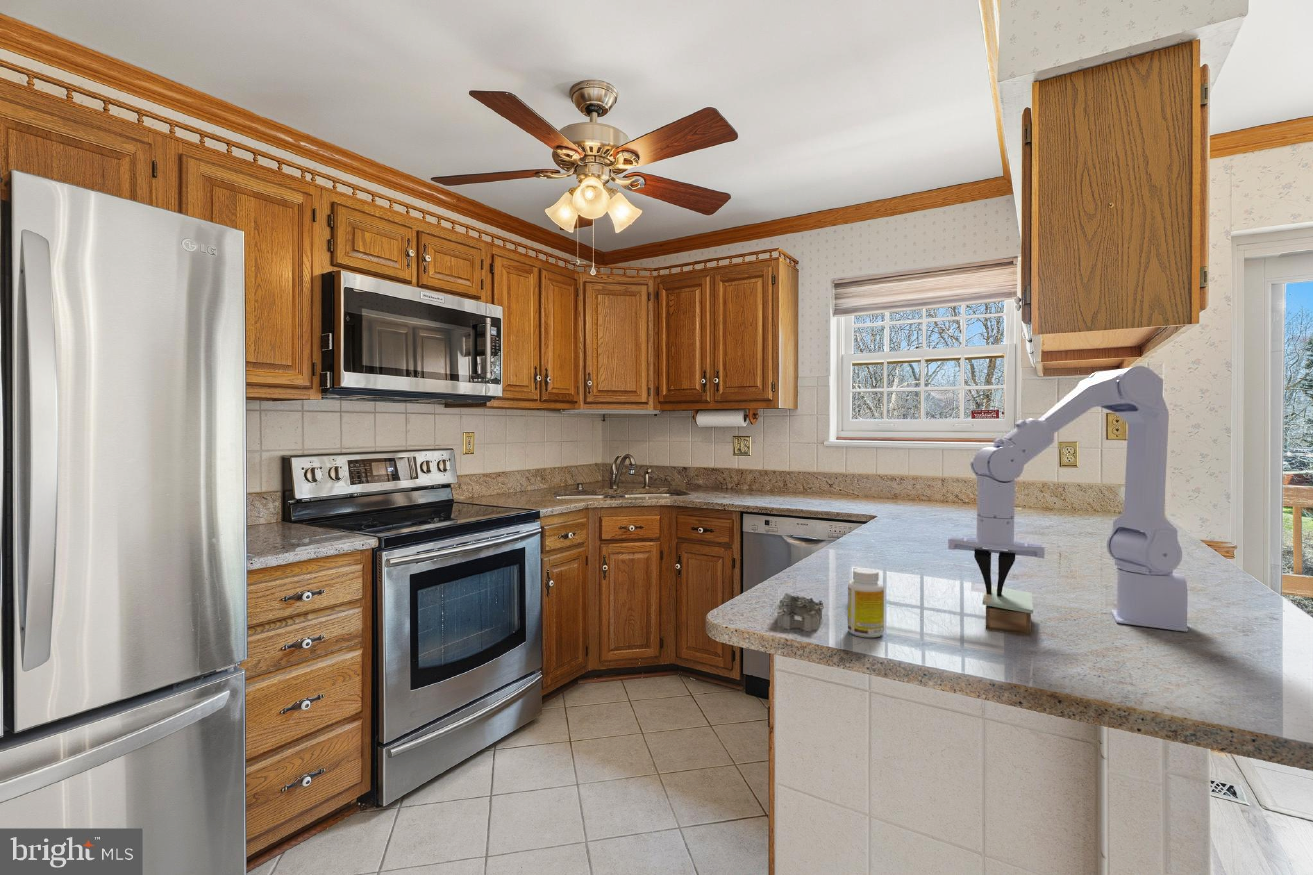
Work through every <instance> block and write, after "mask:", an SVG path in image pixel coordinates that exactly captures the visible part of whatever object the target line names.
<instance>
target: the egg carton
mask: <svg viewBox="0 0 1313 875" xmlns="http://www.w3.org/2000/svg"><path fill="white" fill-rule="evenodd" d="M824 608H825V606H824V602H823V601H822V599H821V600H820V599H819V600H818V601H814V598H813V597H810V598H807V597H806V596H800V595H796V596H795V595H792V594H789V593H787V592H786V593H784V595H783V597H782V598H781V599H780V600H779V602H778V603H777V604H776V605H775V606H774V609H775V611H776V615H777V626H778V627H782V628H783V629H786V630H791V629H794V628H795V629H801V630H803V631H804V632H812V631H819V626H820V625H821V620H822V619H823V610H824ZM790 613H791V614H790Z"/></svg>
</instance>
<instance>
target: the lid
mask: <svg viewBox="0 0 1313 875" xmlns="http://www.w3.org/2000/svg"><path fill="white" fill-rule="evenodd" d="M981 604H982V605H983V606H986V605H988V606H993V607H999V608H1004V609H1009V610H1015V611H1020V612H1026V613H1031V615H1032V614H1034V602H1033V593H1032V592H1030V591H1023V590H1019V589H1011V588H1006V587H1003V589H1002V596H1001V597H999V596H997V586H994V585H992V592H991V595H990V594H986V587H985V588H984V593H983V597H982V603H981Z"/></svg>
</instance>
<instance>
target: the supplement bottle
mask: <svg viewBox="0 0 1313 875" xmlns="http://www.w3.org/2000/svg"><path fill="white" fill-rule="evenodd" d="M879 581H880V576H879V571H878V570H877V569H874V568H866V567H864V568H863V567H858V568H857V569H854V570H853V569H852V580H850V581H849V582H848V584H847V629H848V632H849V633H850V634H852V635H854V636H856V637H861V638H871V639H872V638H878V637H881V636H882V635H883V634H884V630H885V624H884V622H885V619H884V616H885V614H884V611H885V608H884V606H885V604H884V602H885V600H884V599H885V597H884V596H885V594H884V592H885V588H884V585H883V583H881V582H879Z"/></svg>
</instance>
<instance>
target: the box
mask: <svg viewBox="0 0 1313 875" xmlns="http://www.w3.org/2000/svg"><path fill="white" fill-rule="evenodd" d="M1031 617H1032V614H1031V613H1026V612H1020V611H1015V610H1009V609H1004V608H999V607H993V606H988V605H985V630H987V631H992V632H999V633H1007V634H1011V635H1019V636H1027V637H1031V636H1032V634H1031V632H1032V631H1031V629H1032V626H1031V624H1032V621H1031V620H1032V618H1031Z"/></svg>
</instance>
